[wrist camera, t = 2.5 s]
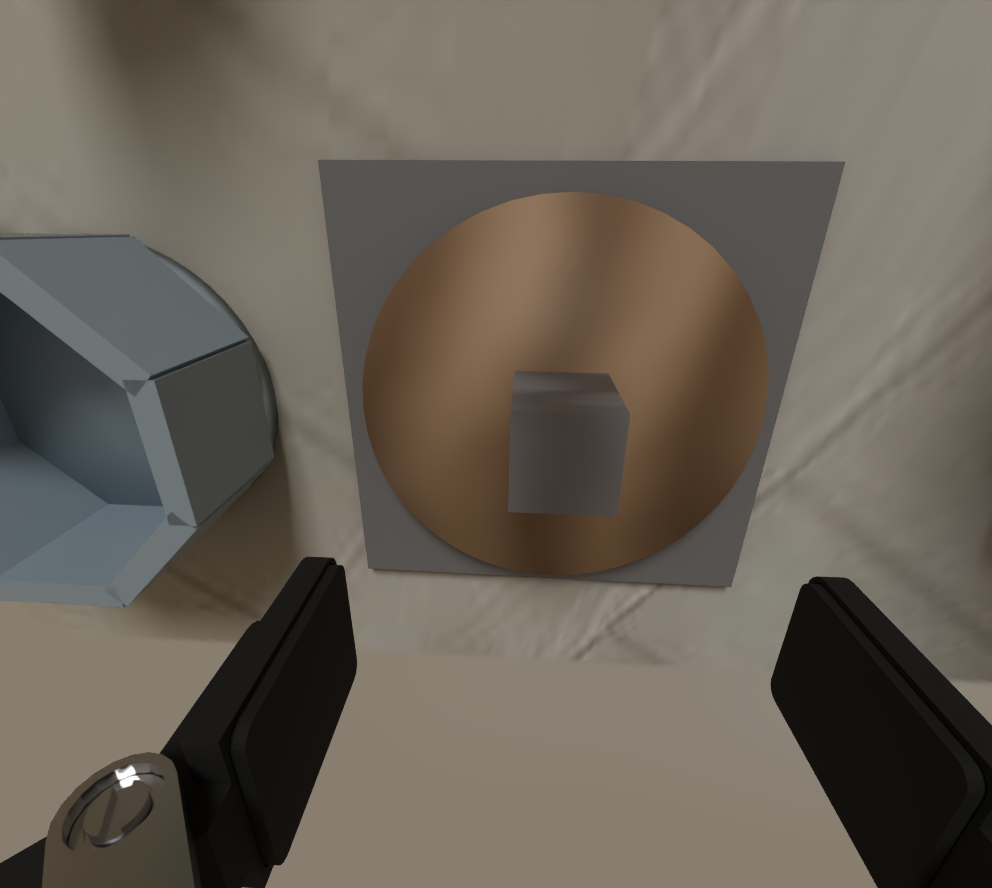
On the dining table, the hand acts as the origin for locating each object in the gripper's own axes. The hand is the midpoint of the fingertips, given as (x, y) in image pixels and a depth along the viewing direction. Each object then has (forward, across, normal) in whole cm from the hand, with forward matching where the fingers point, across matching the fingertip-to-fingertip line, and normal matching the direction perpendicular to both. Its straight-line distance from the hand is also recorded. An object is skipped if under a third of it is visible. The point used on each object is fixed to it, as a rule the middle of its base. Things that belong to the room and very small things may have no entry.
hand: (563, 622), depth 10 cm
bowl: (+12, +18, -1) cm, 22 cm away
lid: (+12, -1, -1) cm, 12 cm away
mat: (+12, -1, -1) cm, 12 cm away
